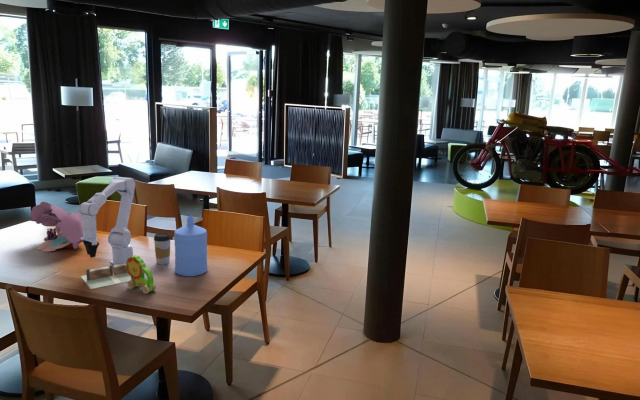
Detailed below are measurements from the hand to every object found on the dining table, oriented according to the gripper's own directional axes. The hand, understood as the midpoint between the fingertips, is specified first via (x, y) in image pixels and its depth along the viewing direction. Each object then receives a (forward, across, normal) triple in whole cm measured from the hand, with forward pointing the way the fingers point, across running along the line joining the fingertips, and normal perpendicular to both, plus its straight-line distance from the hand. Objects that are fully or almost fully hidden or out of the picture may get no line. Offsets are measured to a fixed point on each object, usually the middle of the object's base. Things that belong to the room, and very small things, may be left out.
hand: (91, 255), depth 229 cm
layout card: (+10, +8, +7) cm, 14 cm away
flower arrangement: (+10, -54, -4) cm, 55 cm away
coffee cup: (+10, 0, +34) cm, 35 cm away
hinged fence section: (+9, +6, +1) cm, 11 cm away
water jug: (+10, +20, +41) cm, 47 cm away
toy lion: (+10, +28, +13) cm, 32 cm away
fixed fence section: (+10, +6, +12) cm, 17 cm away
